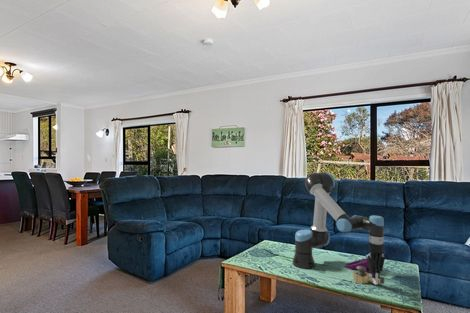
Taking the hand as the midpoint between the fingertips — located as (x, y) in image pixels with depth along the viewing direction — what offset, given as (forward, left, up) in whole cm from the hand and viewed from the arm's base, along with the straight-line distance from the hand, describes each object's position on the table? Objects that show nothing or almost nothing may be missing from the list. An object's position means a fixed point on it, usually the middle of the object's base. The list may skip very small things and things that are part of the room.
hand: (375, 283), depth 163 cm
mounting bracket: (-4, +24, -3) cm, 25 cm away
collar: (-3, +4, -1) cm, 5 cm away
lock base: (-7, +5, -3) cm, 9 cm away
